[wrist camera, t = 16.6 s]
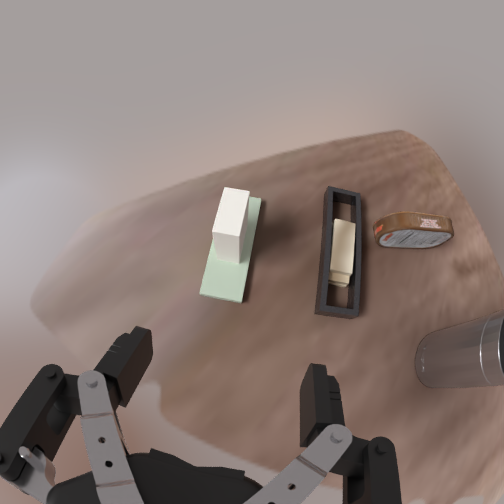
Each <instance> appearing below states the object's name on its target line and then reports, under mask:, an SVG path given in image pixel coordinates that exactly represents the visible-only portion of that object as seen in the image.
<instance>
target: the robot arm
mask: <svg viewBox="0 0 504 504" xmlns="http://www.w3.org/2000/svg"><path fill="white" fill-rule="evenodd" d="M152 356H153V347H152V335H151V330H149V329H145V328H142V327H139V326H136V327H135V328H134V329H133V331H132V332H131V333H130V334H128V333H124V334H123V335H121V336H119V337H118V338H117V339H116V340H115V342H114V343H113V345H112V346H111V347H110V348H109V351H107V352H106V354H105V355H104V356H103V358H102V359H101V360H100V362H99V363H98V365H97V366H96V367H95V369H94V370H90V371H86V372H84V373H82V374H81V375H80V376H77V375H70V374H64V372H63V370H62V368H61V367H60V366H58V365H55V364H49V365H46V366H44V367H43V368H42V369H41V370H40V371H39V373H38V374H37V375H36V376H35V378H34V379H33V381H32V382H31V383H30V385H29V386H28V387H27V389H26V390H25V392H24V393H23V395H22V396H21V398H20V399H19V400H18V402H17V403H16V405H15V406H14V408H13V409H12V411H11V412H10V414H9V415H8V417H7V418H6V420H5V422H4V423H3V425H2V426H1V428H0V476H1V477H2V478H3V479H4V480H5V481H7V482H8V483H9V484H11V485H12V486H14V487H15V488H17V489H19V490H21V491H22V492H23V493H25V494H27V495H31V496H32V497H34V498H35V499H37V500H38V501H40V502H41V503H43V504H301V503H302V502H303V501H304V500H305V499H306V498H307V497H308V496H309V495H310V493H311V492H312V491H313V490H314V489H315V488H316V487H317V486H318V485H319V484H320V482H321V481H322V480H323V479H324V478H325V477H326V474H327V473H328V472H332V473H335V474H339V475H343V504H402V501H401V491H400V481H399V473H398V466H397V459H396V452H395V447H394V444H393V443H392V442H391V441H390V440H389V439H388V438H385V437H376V438H373V439H372V440H371V441H368V440H364V439H361V438H357V437H355V436H353V435H352V434H351V432H350V430H349V429H348V428H346V427H345V422H344V415H343V408H342V401H341V395H340V388H339V383H338V382H337V380H336V379H335V377H334V376H328V375H327V369H326V365H321V364H313V363H311V364H310V365H309V367H308V369H307V372H306V374H305V377H304V379H303V381H302V384H301V388H300V447H307V449H306V450H305V451H304V452H303V453H302V454H301V455H300V456H298V457H296V458H295V459H294V460H293V461H292V462H291V463H290V464H289V465H288V466H287V467H286V468H285V469H284V470H283V471H281V472H280V473H279V474H278V475H277V476H276V477H275V478H274V479H273V480H272V481H270V482H269V483H268V484H267V485H266V486H264V487H262V486H261V485H260V484H259V483H257V482H256V481H254V480H252V479H250V478H248V477H245V476H244V473H245V471H242V470H236V469H230V468H225V467H196V466H193V465H191V464H189V463H187V462H185V461H183V460H181V459H179V458H178V457H176V456H173V455H171V454H168V453H164V452H161V451H158V450H155V449H151V450H150V453H134V454H130V452H129V449H128V447H127V444H126V442H125V439H124V436H123V433H122V430H121V426H120V423H119V420H118V416H117V413H116V409H117V407H118V405H120V406H123V407H126V406H127V404H128V402H129V401H130V398H131V397H132V395H133V393H134V391H135V389H136V388H137V386H138V384H139V382H140V380H141V378H142V377H143V375H144V373H145V371H146V369H147V368H148V366H149V364H150V362H151V360H152ZM415 367H416V373H417V376H418V378H419V380H420V381H421V382H422V383H423V384H424V385H425V386H427V387H431V388H468V387H487V386H499V385H504V309H503V310H500V311H498V312H495V313H492V314H490V315H487V316H484V317H481V318H478V319H475V320H472V321H469V322H466V323H463V324H460V325H456V326H453V327H450V328H446V329H442V330H439V331H435V332H432V333H430V334H428V335H427V336H426V337H425V338H424V339H423V340H422V341H421V343H420V345H419V347H418V350H417V353H416V358H415ZM76 415H82V417H80V420H81V426H82V431H83V436H84V441H85V445H86V449H87V453H88V457H89V461H90V465H91V468H92V471H90V472H88V473H85V474H83V475H80V476H77V477H75V478H72V479H69V480H67V481H64V482H61V483H58V484H56V485H55V481H54V479H55V474H56V470H55V467H54V465H53V463H52V461H53V459H54V457H55V455H56V453H57V451H58V449H59V447H60V445H61V443H62V441H63V439H64V437H65V435H66V433H67V431H68V430H69V428H70V426H71V424H72V422H73V420H74V418H75V416H76Z"/></svg>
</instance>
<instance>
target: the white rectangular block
mask: <svg viewBox="0 0 504 504" xmlns="http://www.w3.org/2000/svg"><path fill="white" fill-rule="evenodd" d="M249 193H250V191H245V190H239V189H233V188H226V187H225V188H224V191H223V195H222V198H221V202H220V205H219V209H218V212H217V216H216V219H215V223H214V226H213V230H212V234H213V239H214V244H215V249H216V255H217V260H221V261H226V262H232V263H237V264H239V262H240V258H241V253H242V248H243V244H244V239H245V234H246V230H247V225H248V209H249Z"/></svg>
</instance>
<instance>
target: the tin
mask: <svg viewBox="0 0 504 504" xmlns="http://www.w3.org/2000/svg"><path fill="white" fill-rule="evenodd" d="M373 230H374V235H375V240H376V243H377V244H378V245H380V246H383V247H391V248H412V249H426V248H432V247H436V246H439V245H441V244H443V243H444V242H446V241H448V240H449V239H451V238H453V236H454V231H453V227H452V220H451V219H450V218H449V217H447V216H441V215H434V214H426V213H419V212H411V211H403V212H396V213H391V214H388V215H386V216H383V217H382V218H380V219H378V220H377V221H376V222H375V223H374V224H373Z"/></svg>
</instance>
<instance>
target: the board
mask: <svg viewBox="0 0 504 504" xmlns="http://www.w3.org/2000/svg"><path fill="white" fill-rule="evenodd" d="M260 205H261V199H260V198H254V197H249V209H248V225H247V230H246V234H245V239H244V244H243V248H242V253H241V258H240V262H239V264H237V263H232V262H226V261H221V260H217V255H216V249H215V244H214V239H213V241H212V245H211V249H210V253H209V257H208V261H207V265H206V269H205V273H204V277H203V281H202V285H201V290H200V295H202V296H207V297H211V298H216V299H222V300H227V301H232V302H237V303H242V298H243V293H244V288H245V283H246V277H247V272H248V267H249V262H250V257H251V251H252V246H253V241H254V236H255V231H256V225H257V220H258V215H259V210H260Z"/></svg>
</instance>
